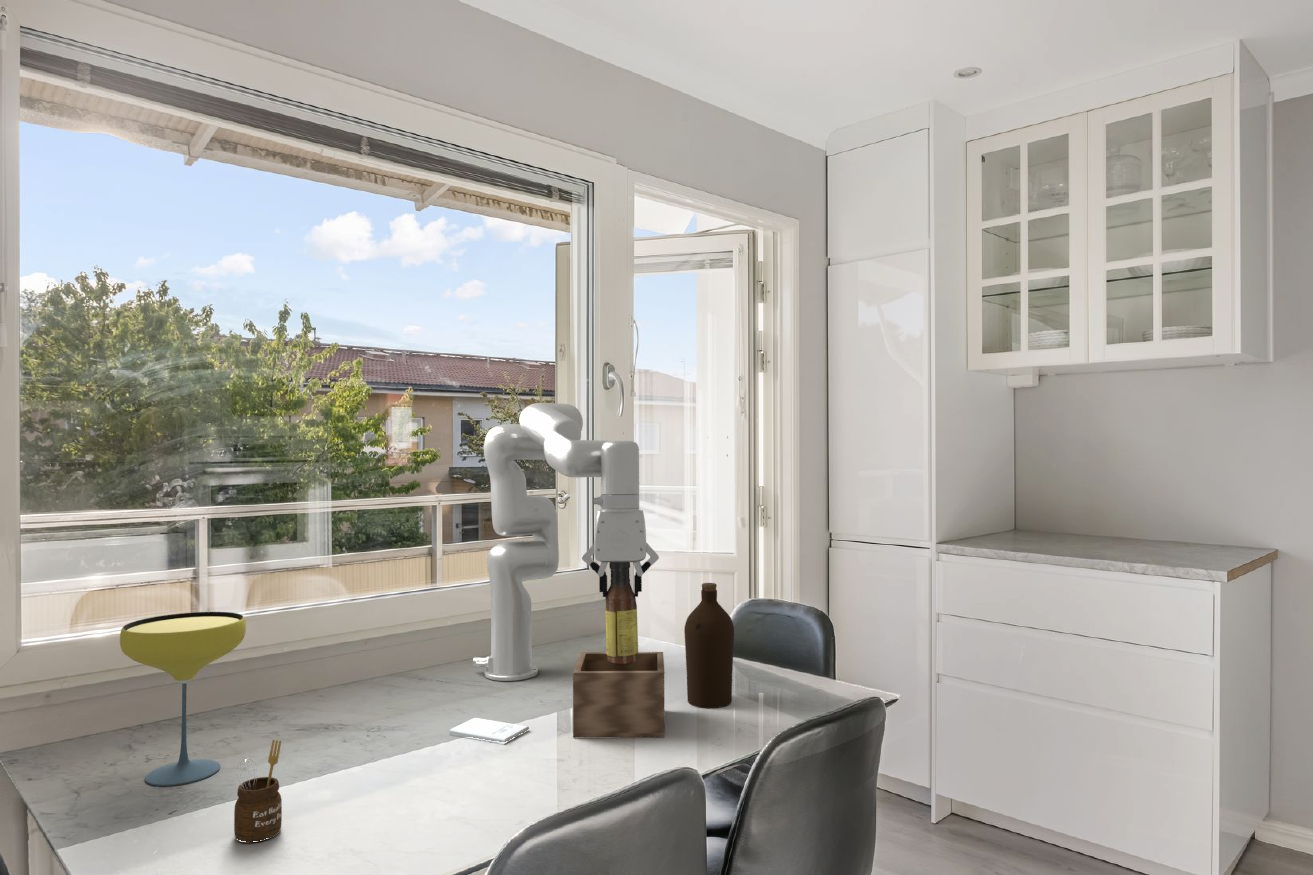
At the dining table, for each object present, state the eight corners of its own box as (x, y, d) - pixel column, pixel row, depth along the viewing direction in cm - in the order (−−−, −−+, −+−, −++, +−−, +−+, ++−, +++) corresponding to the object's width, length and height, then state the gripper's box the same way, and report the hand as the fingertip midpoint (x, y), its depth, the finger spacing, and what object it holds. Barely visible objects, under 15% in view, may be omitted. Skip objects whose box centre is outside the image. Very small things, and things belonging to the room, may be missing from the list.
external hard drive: (475, 725, 161) (529, 733, 156) (449, 738, 153) (504, 747, 148) (475, 716, 161) (529, 724, 156) (449, 729, 153) (504, 738, 148)
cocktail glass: (164, 752, 144) (166, 611, 145) (265, 753, 144) (266, 611, 144) (90, 795, 126) (92, 633, 127) (205, 796, 126) (206, 633, 126)
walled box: (573, 737, 152) (573, 672, 152) (580, 710, 168) (580, 652, 168) (664, 737, 152) (664, 672, 152) (663, 710, 168) (663, 651, 168)
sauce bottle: (642, 659, 162) (643, 559, 162) (631, 667, 156) (632, 563, 156) (611, 656, 164) (612, 557, 164) (599, 664, 158) (600, 561, 158)
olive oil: (736, 709, 168) (736, 587, 169) (685, 709, 168) (684, 587, 169) (732, 694, 179) (731, 579, 179) (684, 694, 179) (683, 580, 180)
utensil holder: (223, 840, 111) (224, 752, 112) (260, 821, 117) (261, 737, 118) (256, 847, 109) (257, 757, 110) (292, 827, 115) (293, 742, 115)
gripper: (574, 504, 157) (575, 599, 156) (664, 504, 157) (664, 598, 156) (578, 502, 164) (578, 592, 164) (663, 502, 164) (664, 592, 164)
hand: (620, 594), depth 160 cm, fingers closed on sauce bottle, 5 cm apart
